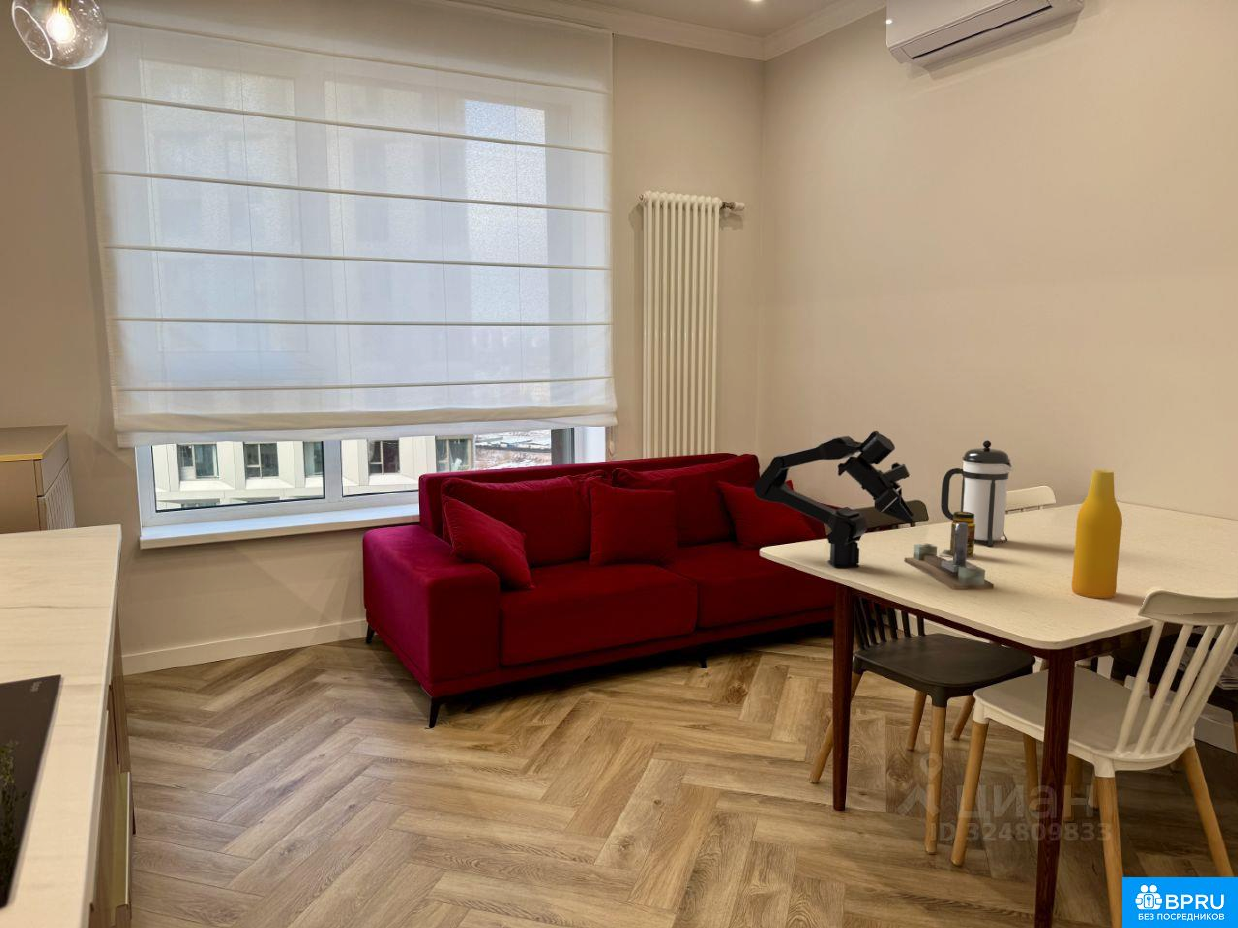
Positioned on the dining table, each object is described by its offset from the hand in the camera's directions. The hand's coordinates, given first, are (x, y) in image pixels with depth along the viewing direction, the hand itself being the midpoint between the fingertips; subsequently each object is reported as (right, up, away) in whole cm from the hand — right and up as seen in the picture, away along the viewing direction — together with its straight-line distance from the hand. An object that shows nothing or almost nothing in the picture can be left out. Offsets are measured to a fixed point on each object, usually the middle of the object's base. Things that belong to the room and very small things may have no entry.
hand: (912, 519), depth 222 cm
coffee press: (+32, -9, +38) cm, 50 cm away
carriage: (+10, -12, -6) cm, 16 cm away
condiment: (+20, -11, +21) cm, 31 cm away
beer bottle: (+37, -17, -16) cm, 44 cm away
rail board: (+9, -14, +1) cm, 16 cm away
